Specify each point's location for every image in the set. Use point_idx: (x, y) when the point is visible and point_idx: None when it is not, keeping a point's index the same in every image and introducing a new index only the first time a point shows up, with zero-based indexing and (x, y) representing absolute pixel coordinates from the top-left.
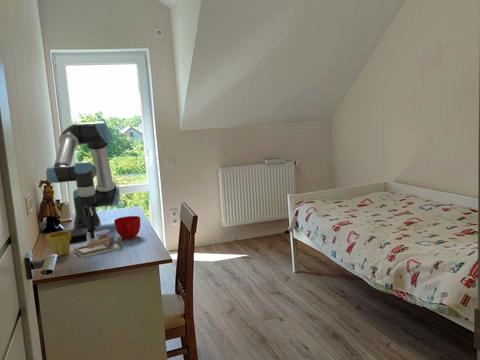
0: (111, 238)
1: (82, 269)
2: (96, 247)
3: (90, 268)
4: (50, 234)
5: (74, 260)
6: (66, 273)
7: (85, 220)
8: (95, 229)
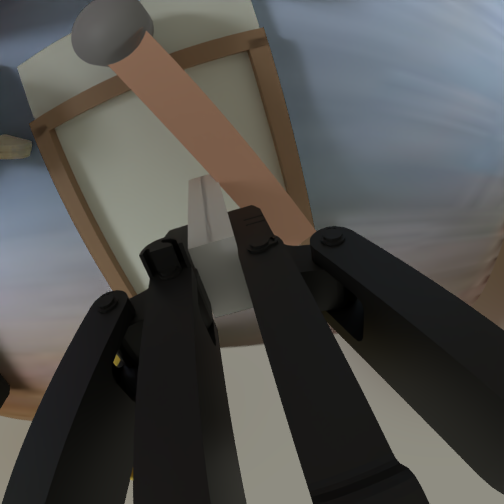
0: (148, 19)
1: (484, 230)
2: (141, 166)
3: (496, 199)
4: (131, 476)
5: None
6: (476, 280)
7: (123, 465)
8: (338, 230)
